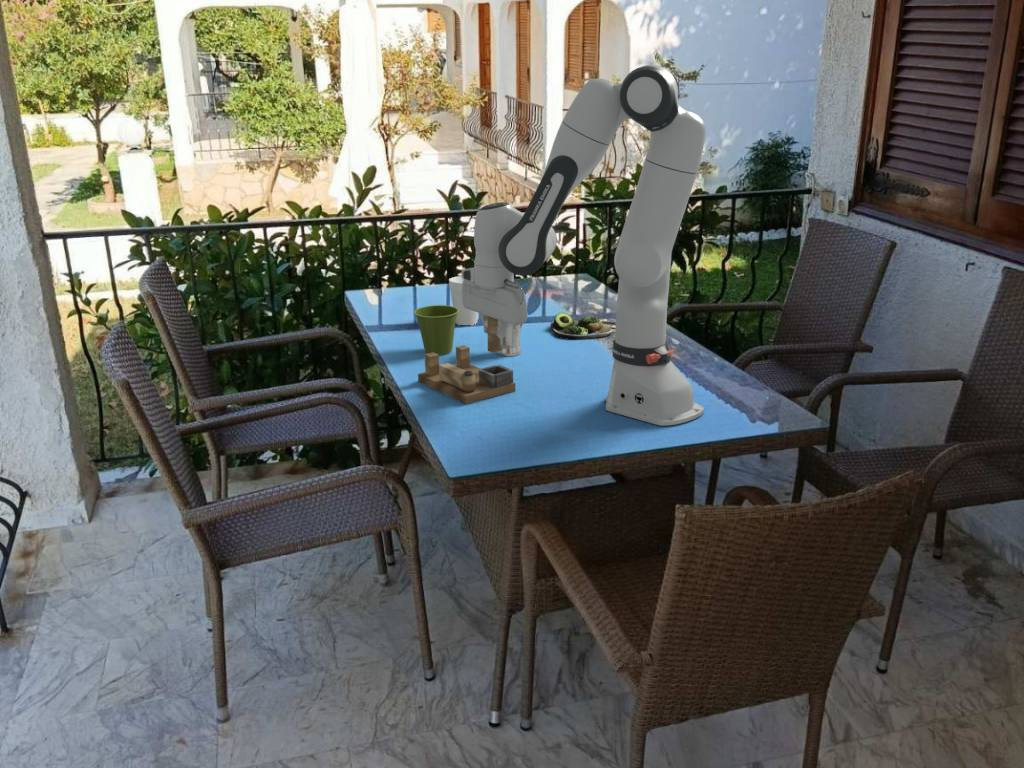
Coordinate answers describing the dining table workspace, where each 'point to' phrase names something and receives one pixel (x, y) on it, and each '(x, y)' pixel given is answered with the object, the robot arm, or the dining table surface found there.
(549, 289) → the dining table surface
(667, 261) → the robot arm
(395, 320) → the dining table surface
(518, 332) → the beer glass
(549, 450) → the dining table surface
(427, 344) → the plant pot
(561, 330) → the salad plate
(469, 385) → the hinged leg
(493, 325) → the oak leg peg
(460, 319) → the foam cup
